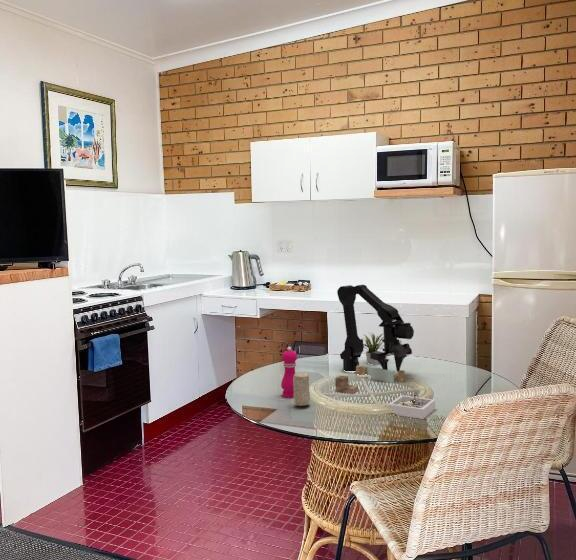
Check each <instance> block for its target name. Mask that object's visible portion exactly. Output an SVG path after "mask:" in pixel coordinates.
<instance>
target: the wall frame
mask: <svg viewBox="0 0 576 560" xmlns="http://www.w3.org/2000/svg"><path fill="white" fill-rule="evenodd" d="M356 374H359V375H365V374H366V366H364V365H359V366H356V373H355V375H356ZM403 381H404V382H405V370H401V369H400V370H399V371H397V382H398V383H403Z"/></svg>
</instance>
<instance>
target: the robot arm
mask: <svg viewBox="0 0 576 560" xmlns="http://www.w3.org/2000/svg"><path fill="white" fill-rule="evenodd" d="M336 294H337V297H338V301H339V302H340V303H341V305H342V307H343V316H344V317H343V318H344V324H345V325H344V326H345V332H346V333H345V334H346V339H345V342H344V349H343V351H342V352H340V354H339V356H340V359H341V360H342V367H343V369H342V370H345V371H356V366H360V361H359V358H361V356H362V354H363V352H364V349H365V348H364V347H365V346H364V345H363V344H364V339H363V338H360V337H359V335H358V326H357V320H356V314H355V312H356V310H355V301H356V299H357V295H358V296H360V297H361V298H362V299H363V300H364V301H365V302H367V304H369V305H370V306H371V308H373V309H374V310H375V312H376V314H377V315H378V317H379V319H380V320H381V322H380V324H379V325H378V327H380V328H381V327H382V330H383V333H384V334H383V337H384V338H383V339H382V340H381V343H382V342H383V349H382V351H378V350H377V351H376V352H372V353H371V354H370V358H371V359H374V360H378V362H379V365H380V366H381V369H386V370H389V367H388V362H389V361H390V359H389V358H388V357H390V356H393V357H394V363H395V368H396V372H398V371H399V370H401V367H402V363H403V361H404V359H405V358H406V357H407V358H408V355H412V354H413V349H412V348H411V347H410V346H411V345H410V344H409V343H407V342H406V343H403V344H401V341H400V339H403V340H404V339H406V340H411V339H413V337H414V333H415V330H414V328H413V326H412V325H411V322H405V321H404V320H403V319H402V317H401V315H400V314H399V310H398V309H397V308H396V307H395V306H392V305H390V304H388V303H386V302H384V301H383V300H382V299H380V297H378V296H377V295H376V294H375V293H374V292H373V291H371V290H370V289H369V288H368V286H367V285H365V284H358V285H356V286H355V285H354V286H353V285H351V284H349V285H342V286H339V288H338V289H337V291H336Z"/></svg>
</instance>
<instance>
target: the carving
mask: <svg viewBox="0 0 576 560" xmlns="http://www.w3.org/2000/svg"><path fill="white" fill-rule="evenodd" d="M293 386H294V388H293V389H294V390H293V391H294V398H293V403H294V404H295V406H298V407H299V406H300V407H301V406H309V405H310V402H311V394H310V375H309V373H307V372H297V373H295V374H294V378H293Z"/></svg>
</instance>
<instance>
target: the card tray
mask: <svg viewBox="0 0 576 560" xmlns="http://www.w3.org/2000/svg"><path fill="white" fill-rule="evenodd" d="M411 399H414V396H411V395H410V396H409V395H403V394H402V395H400V396H398V397H397V398H395V399H394V400H393V401H391V402H390V403H388V406H387V407H388V408H390V409H392V410H393V411H394V413H395V414H396V415H395V414H394V415H395V416H400V417H406V418H412V419H420V420H424V419H426V418H427V417H428V416H429V415H430V414H431V413H432V412H434V411H435V410H436V399H430V398H424V397H419V400H420V401H421V402H422V404H423V405H424V407H422V408H416V407H409V406H407V405H396V404H398V403H400V402H407V401H411ZM416 400H417V396H416Z"/></svg>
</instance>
